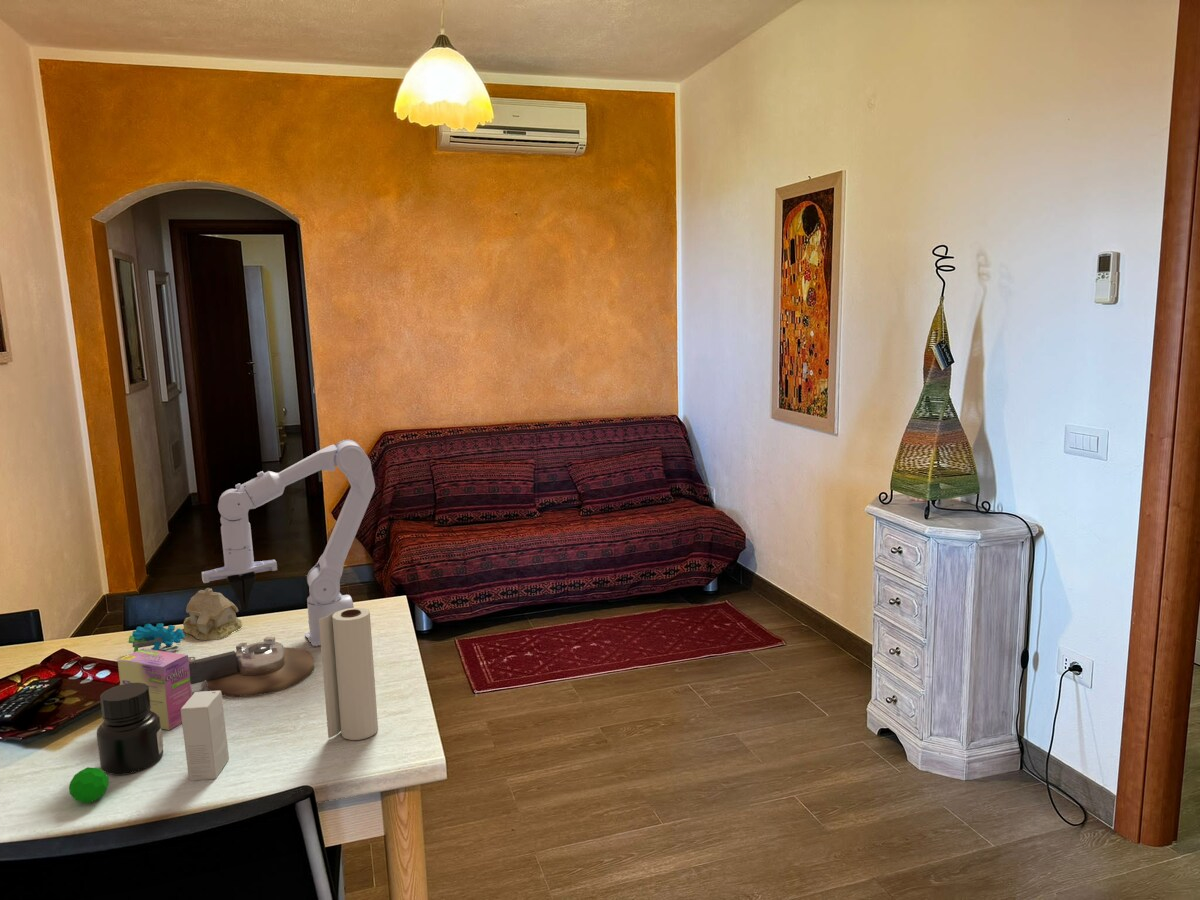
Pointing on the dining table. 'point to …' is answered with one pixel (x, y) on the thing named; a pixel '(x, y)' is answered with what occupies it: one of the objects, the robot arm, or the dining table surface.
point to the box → (160, 681)
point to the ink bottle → (128, 730)
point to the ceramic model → (211, 616)
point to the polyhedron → (88, 785)
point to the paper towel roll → (349, 673)
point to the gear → (155, 636)
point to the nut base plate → (267, 676)
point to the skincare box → (204, 735)
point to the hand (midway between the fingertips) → (243, 608)
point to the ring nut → (239, 661)
